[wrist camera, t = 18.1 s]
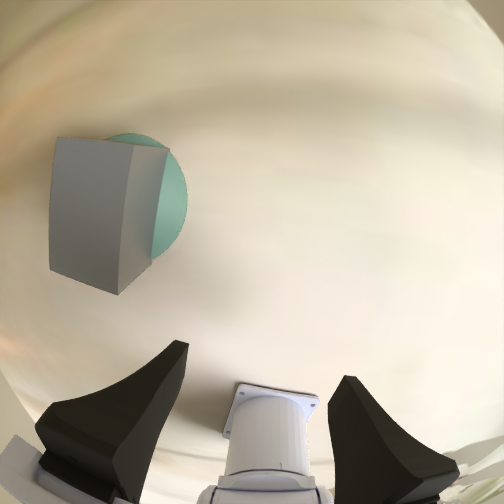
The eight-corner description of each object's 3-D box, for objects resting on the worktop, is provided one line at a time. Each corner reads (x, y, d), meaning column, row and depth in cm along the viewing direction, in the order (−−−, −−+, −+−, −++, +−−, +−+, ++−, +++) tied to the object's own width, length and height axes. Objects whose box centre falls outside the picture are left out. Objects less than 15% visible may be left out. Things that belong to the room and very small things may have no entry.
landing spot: (175, 276, 21) (175, 277, 21) (73, 245, 21) (72, 246, 21) (200, 143, 18) (199, 143, 18) (86, 129, 18) (84, 129, 18)
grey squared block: (151, 264, 21) (117, 295, 16) (90, 246, 21) (49, 269, 16) (169, 148, 18) (134, 145, 13) (102, 139, 18) (57, 137, 13)
